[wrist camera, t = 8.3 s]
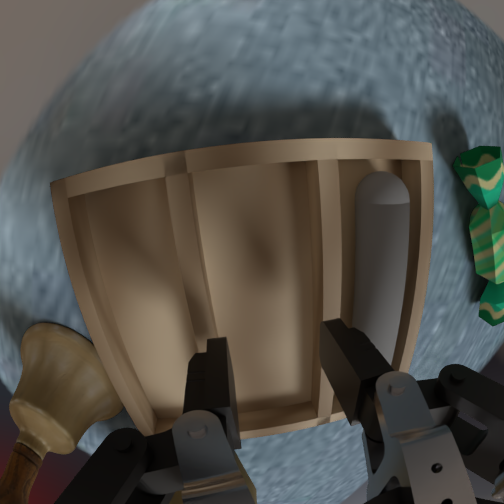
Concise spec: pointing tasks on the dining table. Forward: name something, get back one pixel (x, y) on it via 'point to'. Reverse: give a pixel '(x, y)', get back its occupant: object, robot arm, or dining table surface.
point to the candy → (486, 224)
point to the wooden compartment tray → (234, 268)
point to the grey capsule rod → (380, 258)
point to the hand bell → (54, 402)
